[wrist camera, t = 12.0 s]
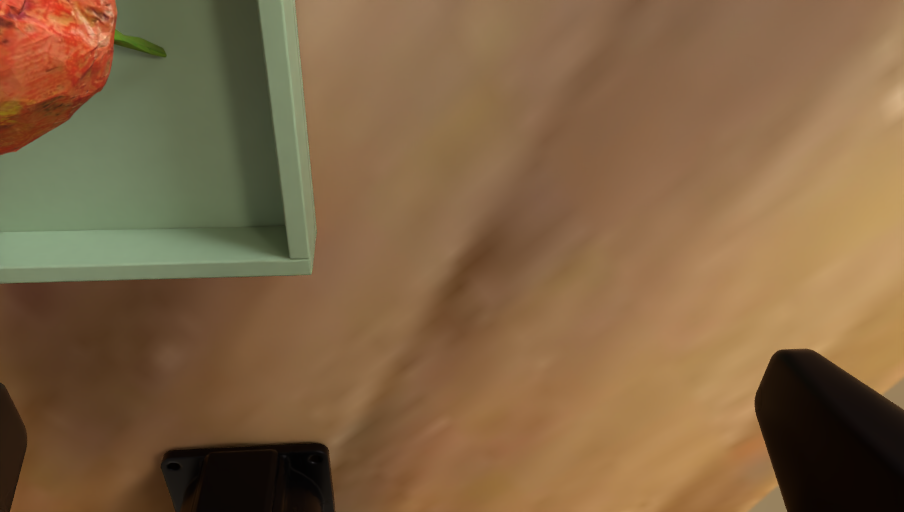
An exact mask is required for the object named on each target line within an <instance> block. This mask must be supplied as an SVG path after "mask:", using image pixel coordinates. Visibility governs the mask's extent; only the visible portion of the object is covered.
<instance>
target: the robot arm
mask: <svg viewBox="0 0 904 512" xmlns="http://www.w3.org/2000/svg"><path fill="white" fill-rule="evenodd" d="M755 412H756V416H757V419H758V422H759V425H760V428H761V431H762V435H763V438H764V441H765V444H766V447H767V450H768V453H769V456H770V459H771V463H772V466H773V469H774V472H775V475H776V478H777V481H778V484H779V487H780V490H781V494H782V496H783V500H784V503H785V506H786V509H787V512H904V410H903V409H902V408H900V407H899V406H897V405H896V404H894V403H893V402H891V401H890V400H888V399H886V398H885V397H884V396H882V395H880V394H879V393H877V392H876V391H874V390H873V389H871V388H870V387H868V386H867V385H865V384H864V383H862V382H861V381H859V380H858V379H856V378H855V377H853V376H852V375H850V374H849V373H847V372H846V371H844V370H843V369H841V368H840V367H838V366H837V365H835V364H834V363H832V362H831V361H829V360H828V359H826V358H825V357H823V356H822V355H820V354H819V353H817V352H815V351H813V350H810V349H785V350H779V351H777V352H776V353H775V354H774V355H773V356H772V357H771V359H770V362H769V364H768V367H767V369H766V371H765V374H764V376H763V378H762V381H761V383H760V385H759V388H758V390H757V392H756V396H755ZM26 447H27V432H26V428H25V425H24V423H23V421H22V419H21V417H20V415H19V413H18V411H17V409H16V407H15V405H14V403H13V401H12V399H11V397H10V395H9V393H8V391H7V389H6V387H5V386H4V385H3V384H2V383H0V512H10V509H11V505H12V501H13V498H14V494H15V490H16V486H17V482H18V479H19V475H20V471H21V467H22V463H23V460H24V456H25V452H26ZM161 470H162V473H163V476H164V478H165V481H166V484H167V487H168V490H169V493H170V496H171V499H172V502H173V505H174V508H175V511H176V512H335V504H334V495H333V485H332V476H331V467H330V458H329V450H328V448H327V447H326V446H325V445H322V444H318V443H311V444H291V445H271V446H251V447H230V448H210V449H190V450H173V451H168V452H166V453H165V454H164V455H163V458H162V462H161Z"/></svg>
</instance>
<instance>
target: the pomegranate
mask: <svg viewBox="0 0 904 512" xmlns="http://www.w3.org/2000/svg"><path fill="white" fill-rule="evenodd" d="M117 13H118V12H117V7H116V2H115V0H0V155H3V154H6V153H10V152H17V151H18V150H19V149H21V148H22V147H24V146H26V145H27V144H29V143H31V142H33V141H34V140H36V139H37V138H39V137H41V136H42V135H44V134H46V133H47V132H49V131H51V130H53V129H54V128H56V127H58V126H60V125H61V124H63V123H64V122H66V121H68V120H69V119H70V118H71V117H72V115H73V114H74V113H75V112H76V111H77V110H78V109H79V108H80V107H81V106H82V105H83V104H84V103H86V102H87V101H88V100H89V99H90V98H91V97H93V96H94V95H95V94H96V93H98V92H100V91H101V90H102V89H103V87H104V86H105V84H106V82H107V80H108V77H109V74H110V71H111V66H112V61H113V52H114V49H113V47H114V44H115V45H119V46H123V47H126V48H130V49H133V50H137V51H141V52H144V53H148V54H151V55H155V56H160V57H165V58H166V56H167V55H166V53H165V50H164V48H162V47H160V46H158V45H156V44H153V43H151V42H149V41H147V40H145V39H142V38H140V37H134V36H128V35H123V34H122V33H121V32H119V31H118V30H117V29H115V28H116V20H117Z"/></svg>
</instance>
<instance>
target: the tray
mask: <svg viewBox="0 0 904 512" xmlns="http://www.w3.org/2000/svg"><path fill="white" fill-rule="evenodd" d="M115 2H116V7H117V12H118V13H117V20H116V28H115V29H117V30H118V31H119V32H121V33H122V34H123V35H128V36H134V37H140V38H142V39H145V40H147V41H149V42H151V43H153V44H156V45H158V46H160V47H162V48H164V50H165V53H166V55H167V56H166V58H165V57H160V56H155V55H151V54H148V53H144V52H141V51H137V50H133V49H130V48H126V47H123V46H119V45H115V44H114V47H113V49H114V52H113V61H112V66H111V71H110V74H109V77H108V80H107V82H106V84H105V86H104V87H103V89H102V90H101V91H100V92H98V93H96V94H95V95H94V96H93V97H91V98H90V99H89V100H88V101H87V102H86V103H84V104H83V105H82V106H81V107H80V108H79V109H78V110H77V111H76V112H75V113H74V114H73V115H72V117H71V118H70V119H69V120H68V121H66V122H64V123H63V124H61V125H60V126H58V127H56V128H54V129H53V130H51V131H49V132H47V133H46V134H44V135H42V136H41V137H39V138H37V139H36V140H34V141H33V142H31V143H29V144H27V145H26V146H24V147H22V148H21V149H19V150H18V151H17V152H10V153H6V154H3V155H0V284H1V283H38V282H74V281H110V280H147V279H183V278H219V277H256V276H292V275H311V274H312V269H313V260H314V251H315V242H316V234H317V228H316V217H315V207H314V196H313V186H312V175H311V165H310V155H309V144H308V134H307V123H306V113H305V102H304V92H303V82H302V71H301V61H300V50H299V40H298V30H297V19H296V9H295V0H115Z"/></svg>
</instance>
